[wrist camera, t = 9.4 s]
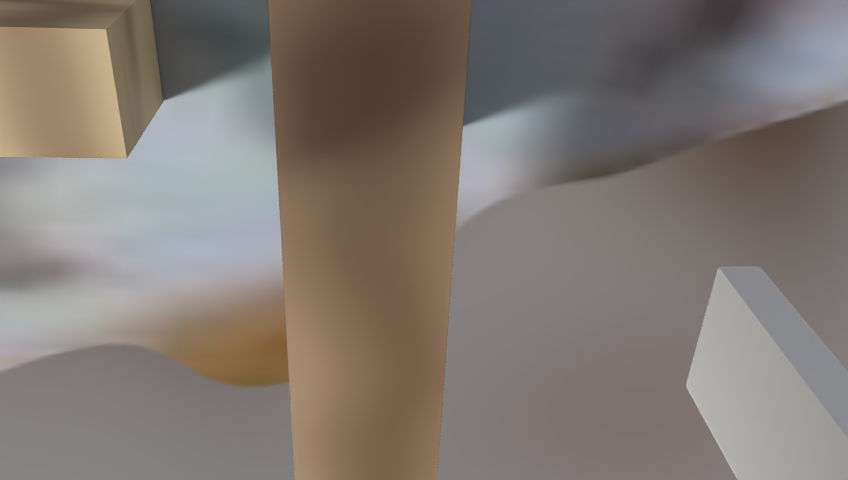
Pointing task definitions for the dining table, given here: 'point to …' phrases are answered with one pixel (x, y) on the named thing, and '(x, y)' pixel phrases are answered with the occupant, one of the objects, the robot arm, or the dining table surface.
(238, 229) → the dining table surface
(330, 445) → the rod
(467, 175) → the dining table surface
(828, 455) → the robot arm
